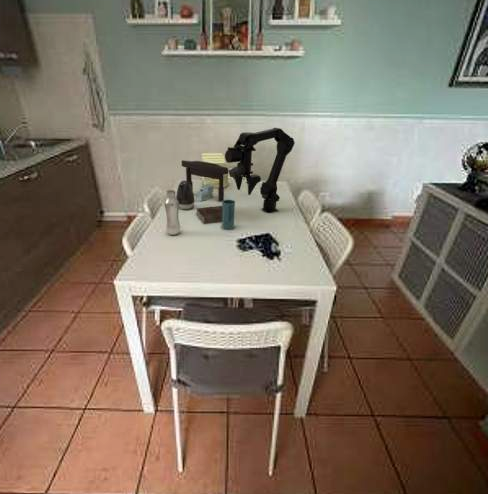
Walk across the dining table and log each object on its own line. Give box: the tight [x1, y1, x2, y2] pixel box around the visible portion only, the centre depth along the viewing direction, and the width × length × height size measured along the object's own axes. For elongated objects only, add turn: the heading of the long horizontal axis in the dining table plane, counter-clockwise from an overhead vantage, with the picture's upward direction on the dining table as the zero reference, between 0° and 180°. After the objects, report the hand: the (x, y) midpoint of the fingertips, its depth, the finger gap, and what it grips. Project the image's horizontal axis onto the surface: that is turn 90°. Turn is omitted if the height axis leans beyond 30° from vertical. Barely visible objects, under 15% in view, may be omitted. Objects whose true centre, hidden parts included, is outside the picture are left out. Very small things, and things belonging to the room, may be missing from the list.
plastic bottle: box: [163, 189, 182, 236], centre depth 146 cm, size 6×7×20 cm
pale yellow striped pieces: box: [201, 152, 231, 188], centre depth 217 cm, size 30×16×18 cm, turn 7°
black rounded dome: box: [175, 180, 196, 210], centre depth 177 cm, size 10×10×15 cm
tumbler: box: [221, 199, 236, 231], centre depth 155 cm, size 6×6×13 cm
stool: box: [181, 160, 228, 203], centre depth 191 cm, size 16×21×33 cm
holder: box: [195, 205, 222, 225], centre depth 168 cm, size 14×14×3 cm
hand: (243, 192), depth 164 cm, fingers open, 9 cm apart
